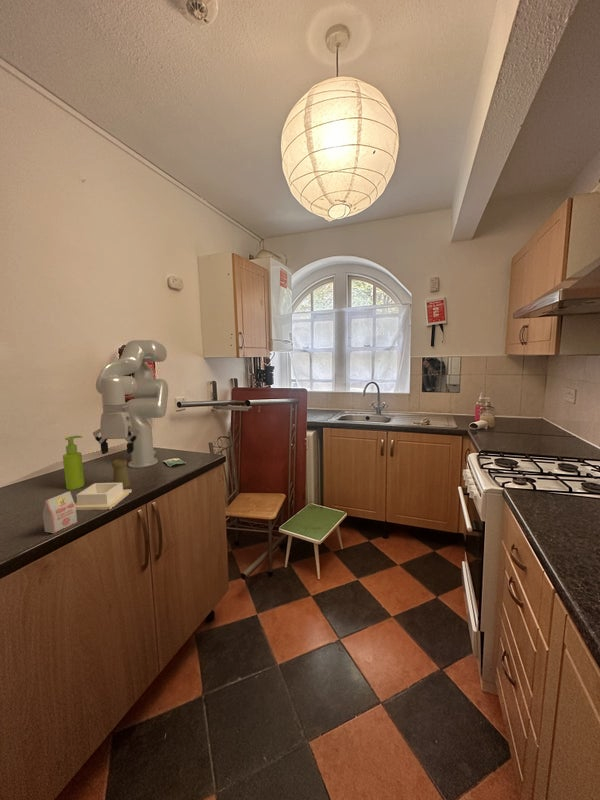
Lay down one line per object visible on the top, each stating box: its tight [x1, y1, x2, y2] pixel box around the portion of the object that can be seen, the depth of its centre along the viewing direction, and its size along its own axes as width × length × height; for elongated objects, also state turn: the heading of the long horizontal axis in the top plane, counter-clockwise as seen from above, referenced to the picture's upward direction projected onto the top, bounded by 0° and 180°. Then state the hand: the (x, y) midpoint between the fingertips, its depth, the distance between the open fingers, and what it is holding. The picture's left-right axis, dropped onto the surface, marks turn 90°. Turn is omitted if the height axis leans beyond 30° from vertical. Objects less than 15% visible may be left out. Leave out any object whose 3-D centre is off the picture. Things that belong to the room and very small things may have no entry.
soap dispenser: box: [62, 435, 85, 490], centre depth 123 cm, size 6×7×20 cm
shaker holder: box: [74, 482, 132, 511], centre depth 110 cm, size 14×14×4 cm
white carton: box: [42, 491, 78, 533], centre depth 92 cm, size 4×7×10 cm, turn 162°
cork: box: [111, 457, 131, 489], centre depth 123 cm, size 6×6×11 cm
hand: (117, 452), depth 121 cm, fingers open, 9 cm apart
